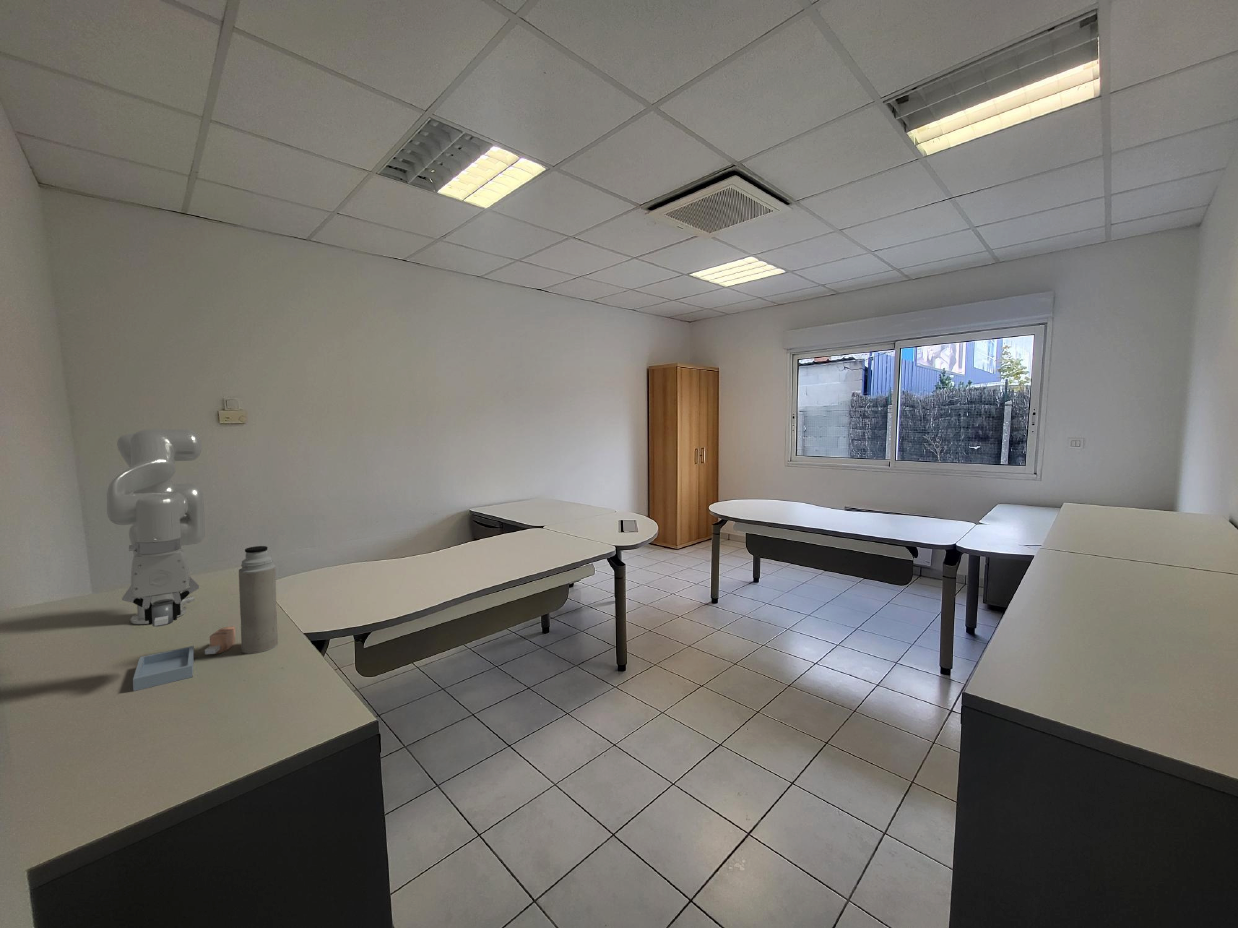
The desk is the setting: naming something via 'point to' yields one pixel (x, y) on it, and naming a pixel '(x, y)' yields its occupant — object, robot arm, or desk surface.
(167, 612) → the graphite plug
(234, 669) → the desk surface
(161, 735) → the desk surface
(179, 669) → the tray
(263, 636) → the thermos bottle
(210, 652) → the terracotta plug
